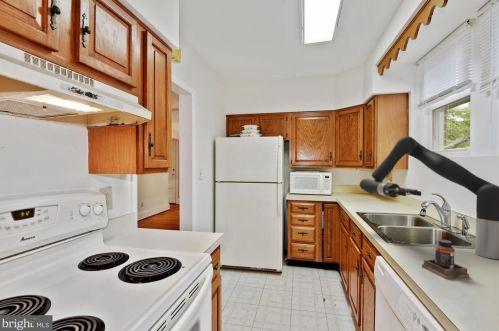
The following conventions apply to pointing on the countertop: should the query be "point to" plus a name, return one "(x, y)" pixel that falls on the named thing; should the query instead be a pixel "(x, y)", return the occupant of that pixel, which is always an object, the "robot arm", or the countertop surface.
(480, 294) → the countertop surface
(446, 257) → the supplement bottle
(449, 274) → the square wooden tray
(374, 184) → the robot arm
